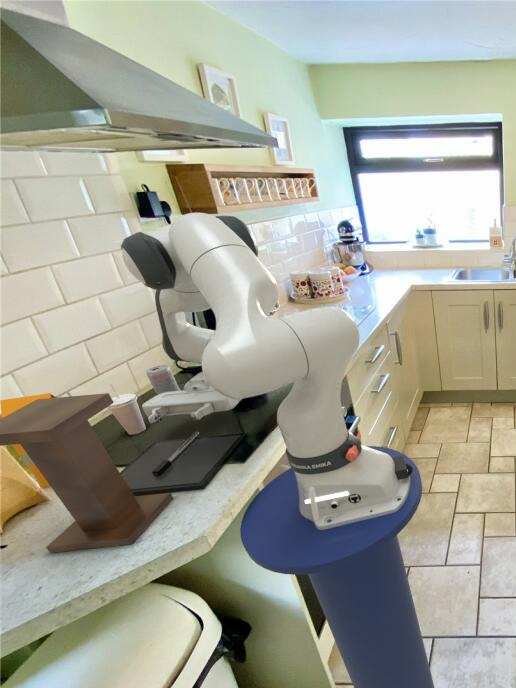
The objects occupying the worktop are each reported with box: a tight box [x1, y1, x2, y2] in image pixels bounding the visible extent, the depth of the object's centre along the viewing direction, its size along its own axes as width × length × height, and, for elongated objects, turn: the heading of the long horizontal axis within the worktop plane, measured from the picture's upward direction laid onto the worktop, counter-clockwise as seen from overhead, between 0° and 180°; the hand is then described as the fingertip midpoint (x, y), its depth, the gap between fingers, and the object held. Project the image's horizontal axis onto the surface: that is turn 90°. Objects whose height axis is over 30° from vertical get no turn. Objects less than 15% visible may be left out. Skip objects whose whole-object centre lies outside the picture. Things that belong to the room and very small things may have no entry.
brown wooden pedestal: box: [0, 392, 174, 554], centre depth 75 cm, size 14×12×25 cm
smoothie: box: [106, 382, 147, 436], centre depth 108 cm, size 6×6×14 cm
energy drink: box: [146, 364, 181, 396], centre depth 120 cm, size 5×5×12 cm
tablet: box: [119, 432, 248, 497], centre depth 96 cm, size 22×20×1 cm
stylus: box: [152, 431, 201, 476], centre depth 98 cm, size 1×16×1 cm, turn 6°
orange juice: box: [0, 392, 58, 488], centre depth 91 cm, size 8×9×20 cm
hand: (173, 418), depth 98 cm, fingers open, 8 cm apart
